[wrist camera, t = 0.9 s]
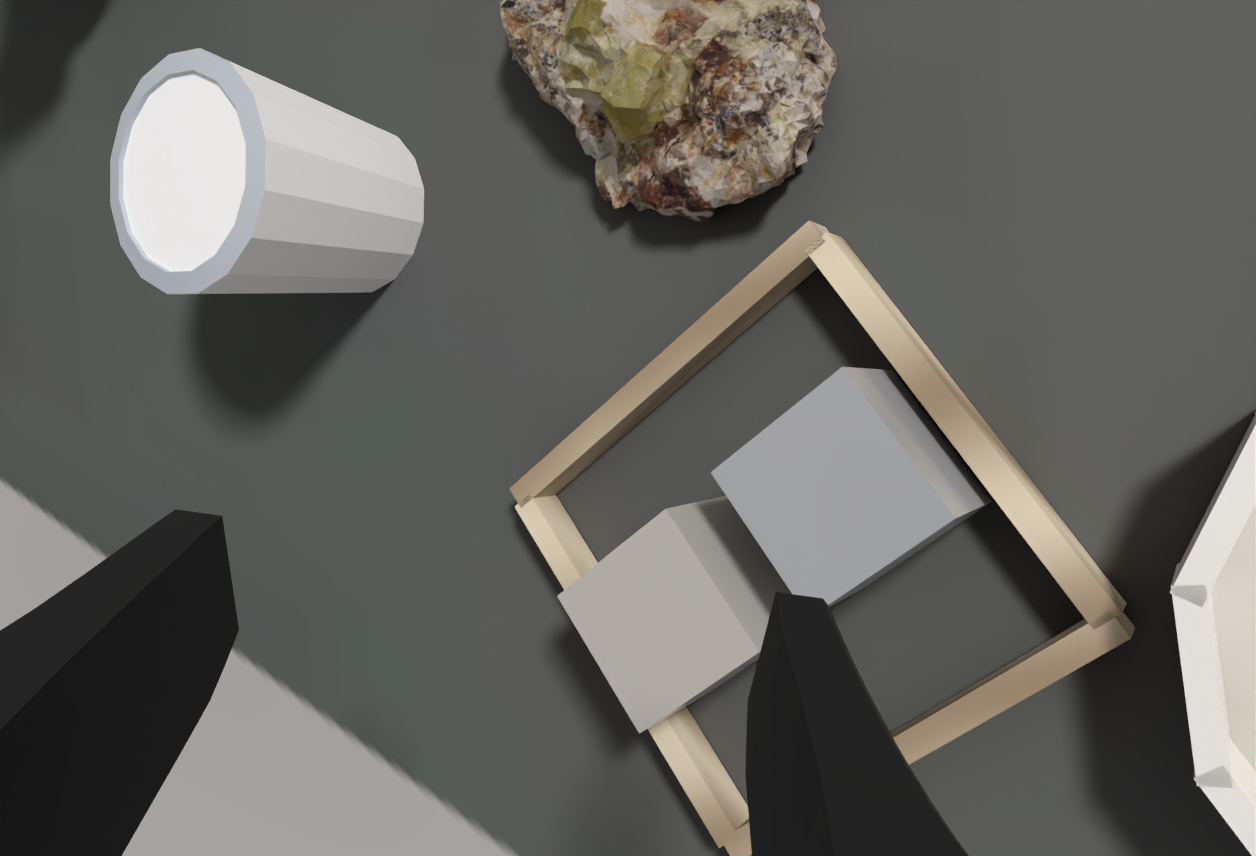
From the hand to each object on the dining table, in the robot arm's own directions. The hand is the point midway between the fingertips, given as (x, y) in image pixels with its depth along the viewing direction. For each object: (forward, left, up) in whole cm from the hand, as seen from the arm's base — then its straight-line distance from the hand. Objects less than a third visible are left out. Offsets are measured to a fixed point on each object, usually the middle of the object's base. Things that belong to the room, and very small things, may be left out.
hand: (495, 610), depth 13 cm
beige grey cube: (0, +5, -15) cm, 16 cm away
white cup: (+18, +8, -15) cm, 25 cm away
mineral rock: (+13, -3, -15) cm, 20 cm away
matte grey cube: (0, -1, -15) cm, 15 cm away
